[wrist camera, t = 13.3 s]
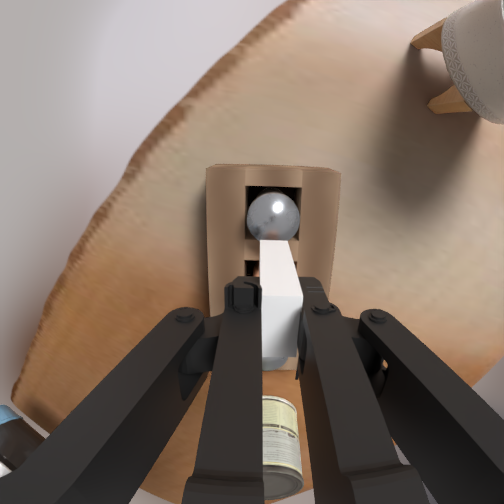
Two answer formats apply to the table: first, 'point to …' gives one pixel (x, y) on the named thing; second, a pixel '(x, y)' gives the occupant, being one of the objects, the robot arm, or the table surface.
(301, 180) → the wooden slotted block
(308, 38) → the table surface
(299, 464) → the coffee can
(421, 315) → the table surface
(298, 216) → the grey plug
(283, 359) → the grey plug
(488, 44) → the planter
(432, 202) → the table surface
